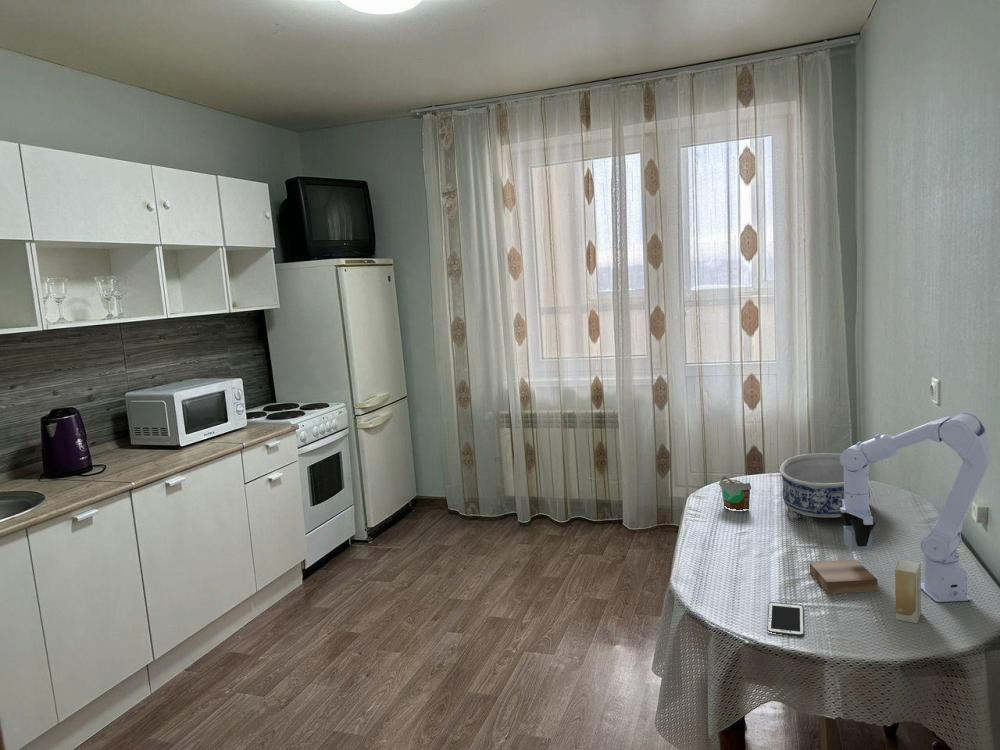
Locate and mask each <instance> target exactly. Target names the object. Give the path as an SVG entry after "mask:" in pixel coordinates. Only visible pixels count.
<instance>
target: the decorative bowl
mask: <svg viewBox="0 0 1000 750" xmlns="http://www.w3.org/2000/svg"><path fill="white" fill-rule="evenodd" d="M840 455H841V453H835V452H832V453H829V452H819V453H816V452H815V453H805V454H799V455H795V456H791V457H789V458H787V459H786V460H784V461H783V462H782V463H781V464H780V466H779V473H780V475H781V479H782V480H781V481H782V499H783V502H784V504H785V506H786V507H787V508H788V509H789V510H788V511H789V512H788V514H787V515H788V517H789V518H790V517H791V518H790V519H792V518H794V519H795V518H796V519H799V518H800V517H801V515H804V516H809V517H814V518H829V519H830V518H842V516H841V515H840V513H839V511H840V508H841V507H843V506H842V499H844V467H843V466H842V464H841V463H840ZM870 469H871V467H870V464H868V473H869V472H870ZM870 492H871V491H870V489H869V499H870V498H871V493H870ZM800 514H801V515H800ZM796 519H795V520H796Z"/></svg>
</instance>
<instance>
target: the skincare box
mask: <svg viewBox="0 0 1000 750" xmlns="http://www.w3.org/2000/svg"><path fill="white" fill-rule="evenodd" d="M921 566H922V565H921V562H917V561H911V560H904V559H899V561H898V562H897V564H896V565H895V569H894V581H895V587H894V588H895V589H894V590H895V591H894V592H895V593H894V594H895V595H894V596H895V620H898V621H904V622H908V623H912V624H918V622H919V619H920V617H921V613H922V589H921V583H922V573H921V572H922V568H921Z"/></svg>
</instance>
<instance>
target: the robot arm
mask: <svg viewBox="0 0 1000 750" xmlns="http://www.w3.org/2000/svg"><path fill="white" fill-rule="evenodd" d="M927 440H931V441H934V442H936V443H941V442H944V443H945V444H946V445H947V446H948V447H949V448H950V449H952V451H955V453H957V455H958V457H960V459H961V460H962V463H961V465H960V468H959V471H958V473H957V475H956V477H955V479H954V482H953V484H952V487H951V489H950V490H949V493H948V496H947V498H946V500H945V502H944V505H943V507H942V509H941V512H940V513H939V517H938V518H937V520H936V522H935V523H934V524H933V526H932V528H931V530H930V533H928V534H927V535H925V537H923V538H921V539H922V540H921V541H920V550H921V552H922V553H923V582H921V591H923V592H924V593H925V594H927V595H928V596H929V597H930V598H931V599H932V600H934V601H935V602H936V603H943V602H946V603H947V602H964V601H966V602H968V600H969V601H972V597H970V596H969V595H968V575H967V572H966V570H964V568H962V566H961V563H960V555H959V553H958V551H957V549H958V548H959V547H960V545H961V544H962V536H961V533H962V530H963V527H964V526H963V523H964V521H965V519H966V517H967V515H968V513H969V510H970V508H971V506H972V503H973V501H974V499H975V497H976V494H977V492H978V490H979V488H980V486H981V484H982V483H983V479H984V477H985V474H986V473H987V470H988V468H989V466H990V464H991V461H992V454H991V449H990V446H989V441H988V437H987V427H986V426H985V425H984V423H983V422H982V421H981V420H980V419H979V417H978V416H977V415H975V414H973V413H969V412H959V413H957V414H956V415H954V416H952V415H949V416H944V417H942V418H939V419H934V420H931V421H929V422H927V423H924V424H922V425H920V426H917V427H914V428H912V429H909V430H906V431H904V432H902V433H899V434H897V435H895V436H893V435H889V434H887V433H884V434H881V433H877V434H875V435H873V438H871V439H868V440H865V441H863V442H862V440H860V441H858V442H856V444H853V445H852V446H850V447H847V448H846V449H844V450H843V451H842V452H841V453H840V454H841V455H840V463H841V464H842V466H843V467H844V499H842V506H843V507H841V508H840V511H839V513H840V515H841V516H842V517H841V518H842V520H843V523H844V526H851V525H852V526H853V528H854V531H855V537H856V542H857V545H858V546H859V547H860V546H867V543H868V540H869V536H870V533H871V532H872V531H873V529H874V528H875V526H876V524H877V523H876V521H875V520H874V517H873V516H872V513H871V508H870V498H869V490H870V484H869V481H870V480H869V476H870V475H869V472H868V464H869V465H873V464H876V463H879V462H881V461H884V460H887V459H890V458H893V457H896V456H897V455H898V453H899V451H900V449H902V448H906V447H909V446H912V445H915V444H919V443H921V442H925V441H927Z"/></svg>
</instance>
